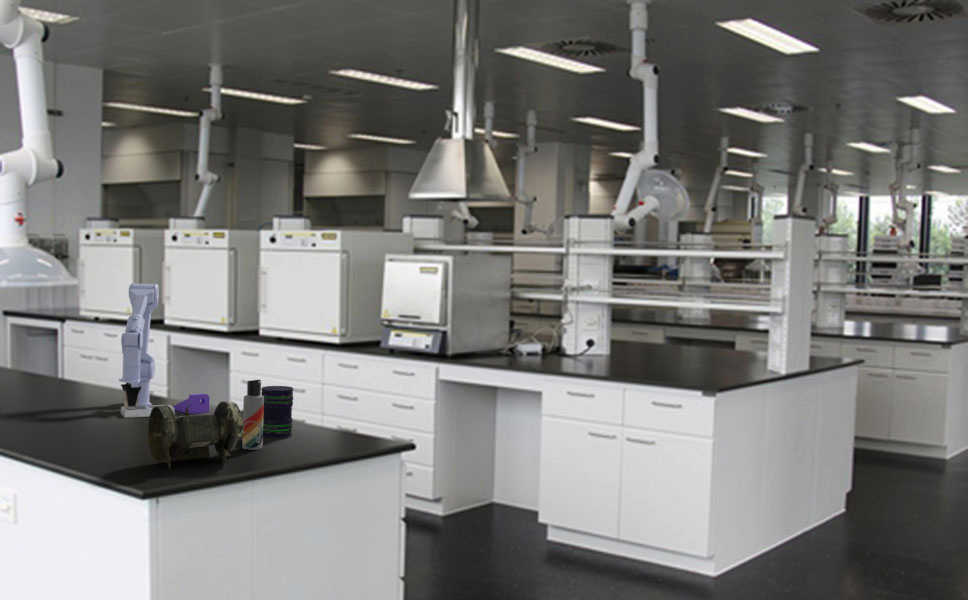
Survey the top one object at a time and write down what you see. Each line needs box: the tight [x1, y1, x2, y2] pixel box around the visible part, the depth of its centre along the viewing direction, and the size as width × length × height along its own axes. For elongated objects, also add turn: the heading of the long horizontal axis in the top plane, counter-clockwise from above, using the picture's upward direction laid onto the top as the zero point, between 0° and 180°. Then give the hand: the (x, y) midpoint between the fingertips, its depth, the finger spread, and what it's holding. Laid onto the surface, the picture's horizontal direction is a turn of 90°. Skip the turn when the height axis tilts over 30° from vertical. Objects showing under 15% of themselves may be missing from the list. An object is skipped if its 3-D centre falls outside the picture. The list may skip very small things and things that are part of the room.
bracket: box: [172, 393, 210, 415], centre depth 332 cm, size 12×7×7 cm, turn 50°
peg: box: [123, 390, 138, 407], centre depth 327 cm, size 4×4×7 cm
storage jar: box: [261, 385, 294, 440], centre depth 292 cm, size 10×10×15 cm
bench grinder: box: [147, 400, 244, 469], centre depth 251 cm, size 20×22×20 cm
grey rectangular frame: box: [120, 404, 176, 419], centre depth 321 cm, size 8×16×2 cm, turn 120°
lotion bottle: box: [241, 379, 264, 451], centre depth 272 cm, size 6×6×20 cm
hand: (130, 405), depth 327 cm, fingers closed on peg, 4 cm apart
